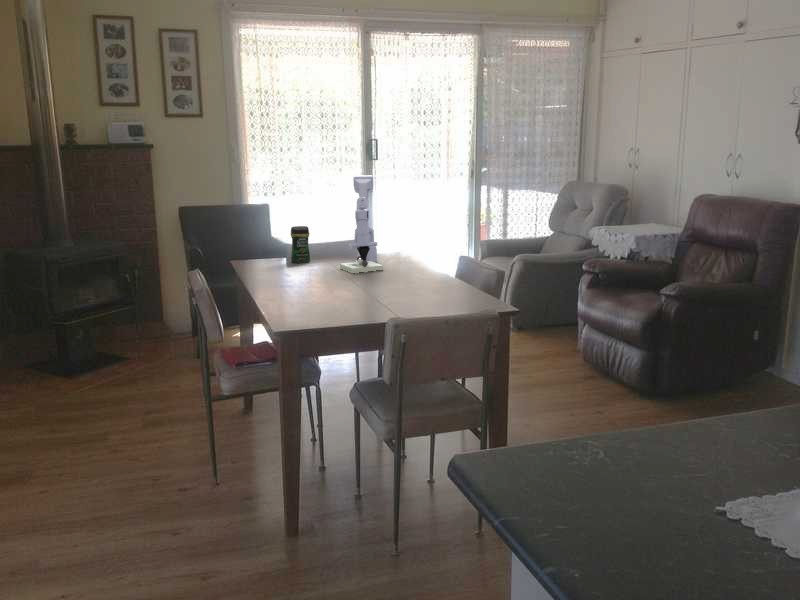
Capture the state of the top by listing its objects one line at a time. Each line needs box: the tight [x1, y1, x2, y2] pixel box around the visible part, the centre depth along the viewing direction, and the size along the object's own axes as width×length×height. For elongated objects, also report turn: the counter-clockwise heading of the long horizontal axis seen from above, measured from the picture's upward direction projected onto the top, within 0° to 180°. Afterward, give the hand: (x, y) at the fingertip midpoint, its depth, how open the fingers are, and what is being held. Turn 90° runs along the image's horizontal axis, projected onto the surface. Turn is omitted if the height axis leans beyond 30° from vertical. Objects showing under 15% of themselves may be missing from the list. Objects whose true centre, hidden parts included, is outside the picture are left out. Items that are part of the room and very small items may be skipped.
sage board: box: [339, 261, 384, 274], centre depth 354 cm, size 16×15×2 cm
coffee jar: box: [290, 225, 311, 264], centre depth 374 cm, size 10×8×19 cm
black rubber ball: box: [362, 260, 368, 267], centre depth 348 cm, size 3×3×3 cm
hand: (363, 261), depth 353 cm, fingers closed, pressing on steel ball
